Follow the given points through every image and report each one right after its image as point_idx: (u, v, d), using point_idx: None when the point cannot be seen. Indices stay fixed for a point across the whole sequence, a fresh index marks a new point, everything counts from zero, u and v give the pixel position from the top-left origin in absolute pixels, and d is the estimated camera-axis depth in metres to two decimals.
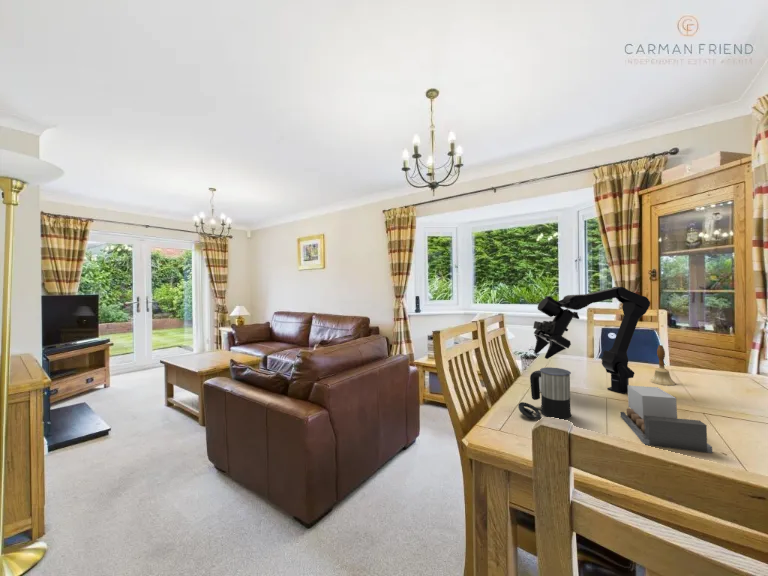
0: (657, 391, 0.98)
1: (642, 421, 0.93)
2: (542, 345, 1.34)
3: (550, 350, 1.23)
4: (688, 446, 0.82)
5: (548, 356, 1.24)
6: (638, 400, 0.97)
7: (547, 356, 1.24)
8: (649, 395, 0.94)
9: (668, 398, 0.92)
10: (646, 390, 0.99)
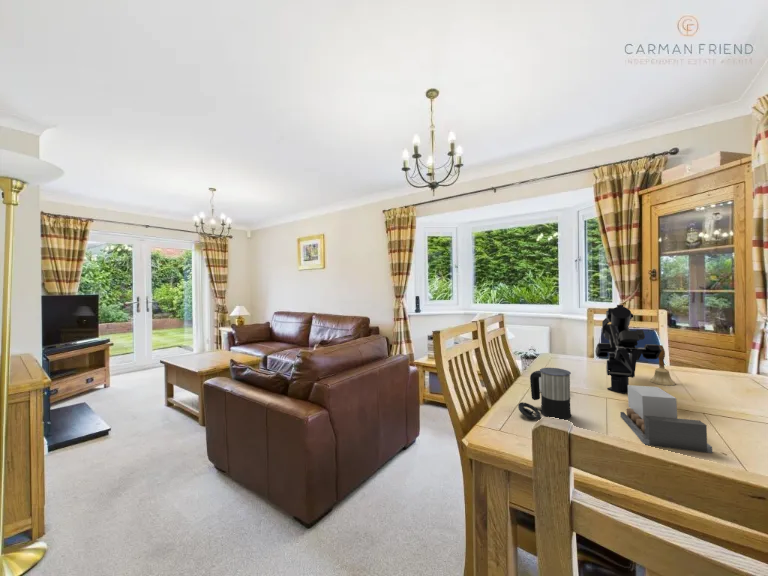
0: (657, 391, 0.98)
1: (642, 421, 0.93)
2: None
3: (635, 361, 1.12)
4: (688, 446, 0.82)
5: None
6: (638, 400, 0.96)
7: None
8: (649, 395, 0.94)
9: (668, 398, 0.92)
10: (646, 390, 0.99)
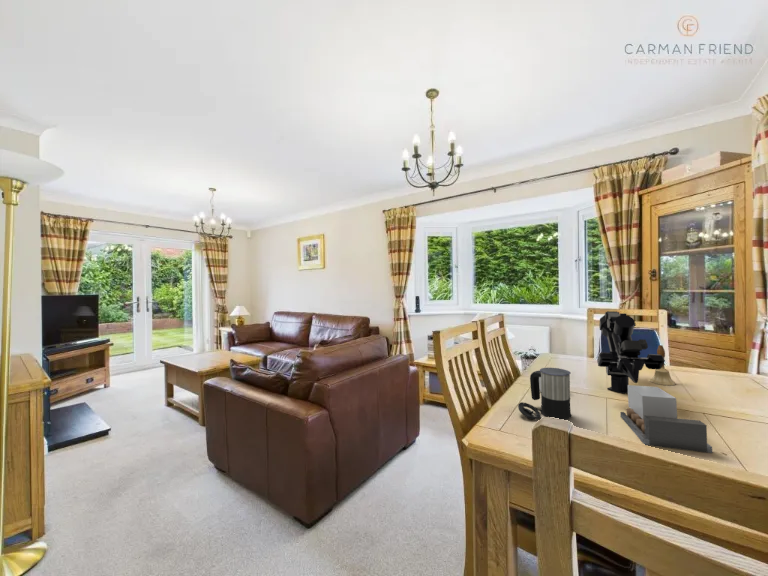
0: (657, 391, 0.98)
1: (642, 421, 0.93)
2: None
3: (638, 372, 1.10)
4: (688, 446, 0.82)
5: None
6: (638, 400, 0.96)
7: None
8: (649, 395, 0.94)
9: (668, 398, 0.92)
10: (646, 390, 0.99)
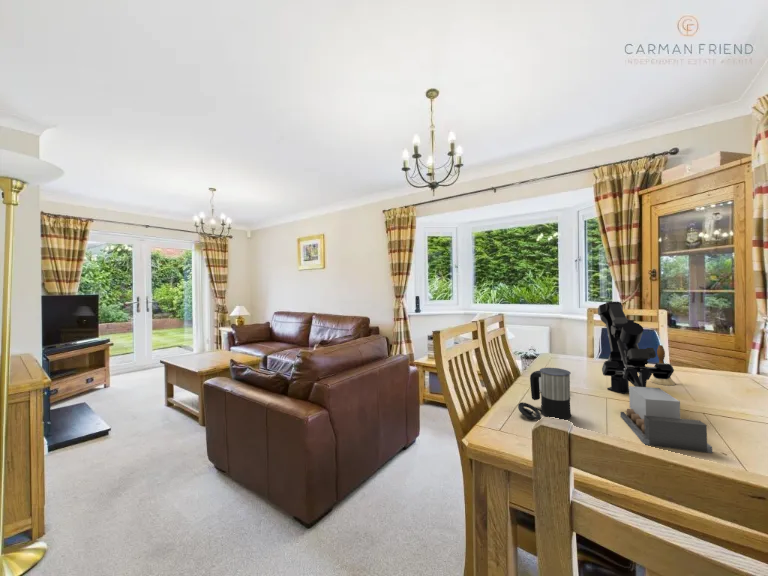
0: (660, 393, 0.96)
1: (642, 421, 0.93)
2: None
3: None
4: (688, 446, 0.82)
5: None
6: (641, 403, 0.95)
7: None
8: (652, 398, 0.93)
9: (672, 401, 0.90)
10: (648, 392, 0.98)
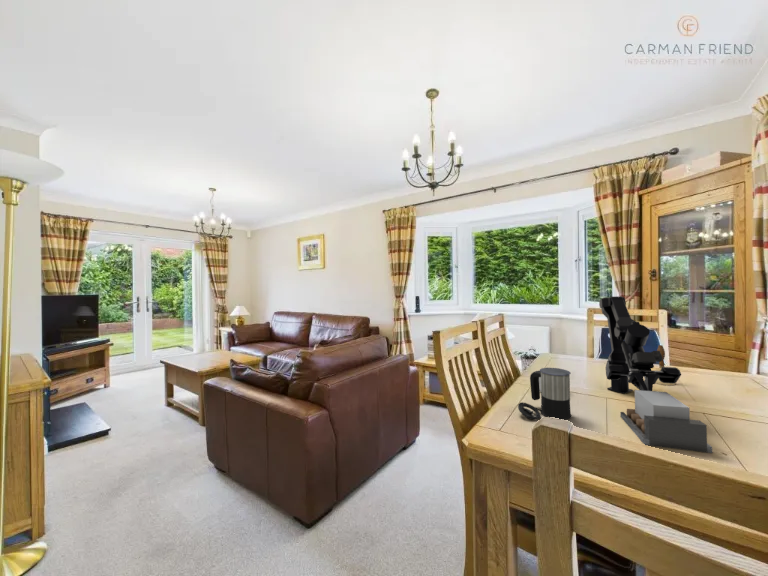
0: (667, 398, 0.92)
1: (642, 421, 0.93)
2: None
3: None
4: (688, 446, 0.82)
5: None
6: (648, 409, 0.91)
7: None
8: (660, 404, 0.88)
9: (681, 408, 0.86)
10: (655, 397, 0.93)
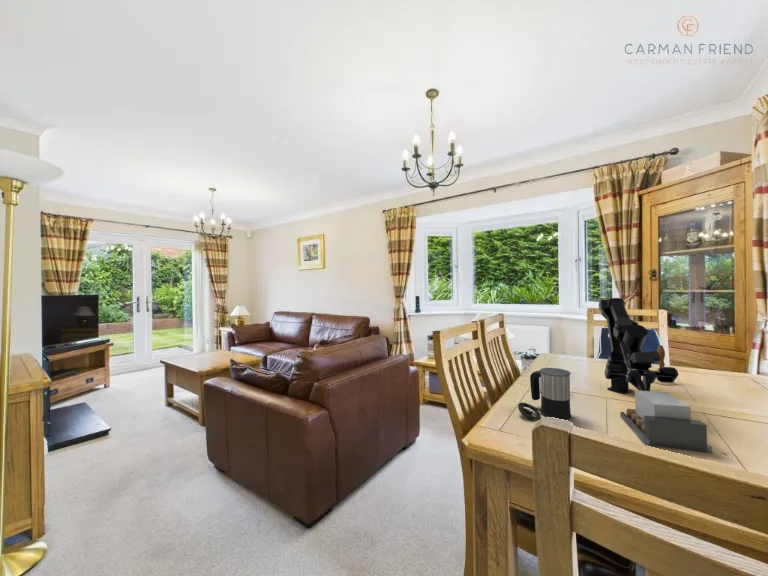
0: (668, 397, 0.92)
1: (642, 421, 0.93)
2: None
3: None
4: (688, 446, 0.82)
5: None
6: (649, 408, 0.90)
7: None
8: (661, 403, 0.88)
9: (682, 407, 0.86)
10: (656, 396, 0.93)
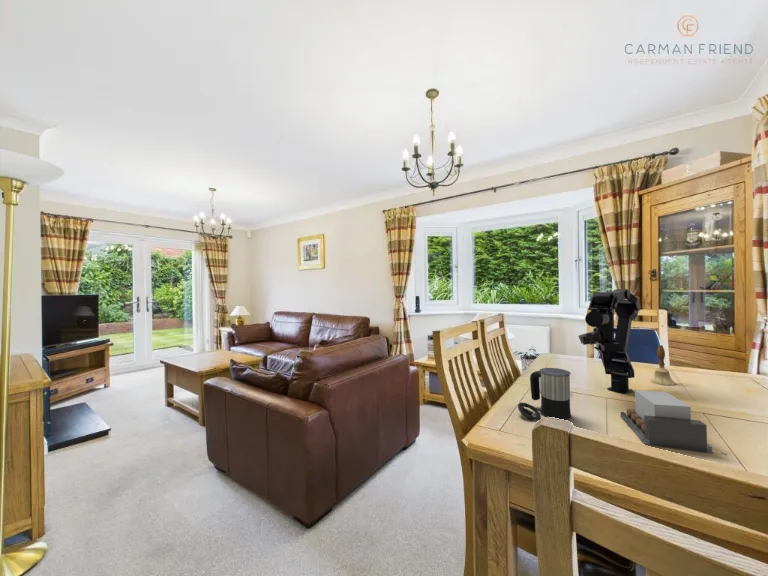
0: (668, 398, 0.92)
1: (642, 421, 0.93)
2: None
3: (604, 358, 1.18)
4: (688, 446, 0.82)
5: (606, 364, 1.18)
6: (649, 408, 0.90)
7: (606, 365, 1.19)
8: (661, 403, 0.88)
9: (682, 407, 0.86)
10: (656, 396, 0.93)
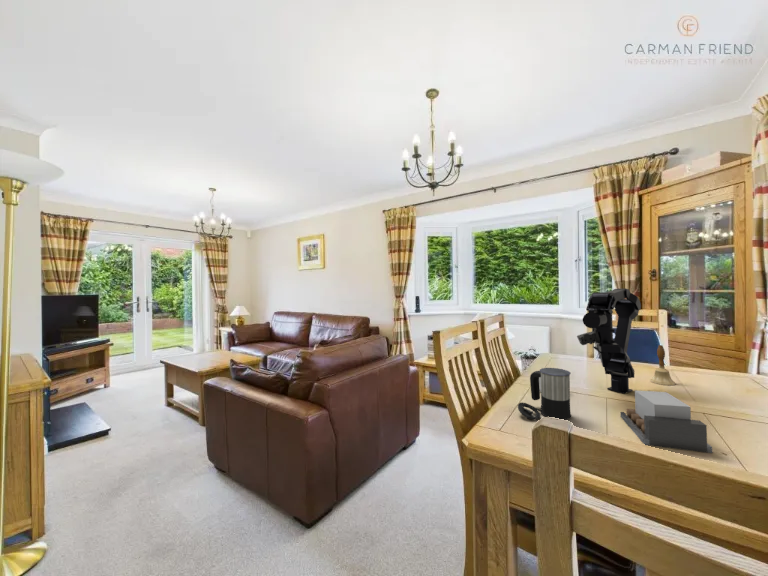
0: (668, 398, 0.92)
1: (642, 421, 0.93)
2: None
3: (603, 358, 1.19)
4: (688, 446, 0.82)
5: (605, 364, 1.19)
6: (649, 408, 0.90)
7: (604, 364, 1.19)
8: (661, 403, 0.88)
9: (682, 407, 0.86)
10: (656, 396, 0.93)
